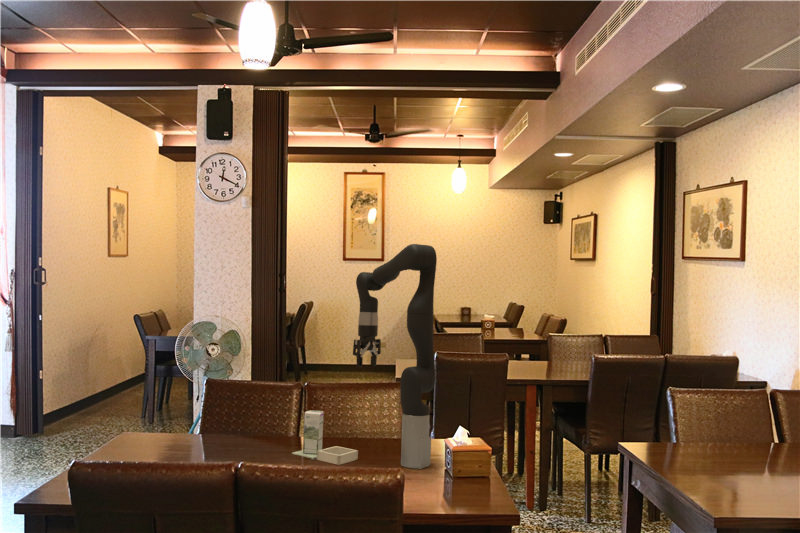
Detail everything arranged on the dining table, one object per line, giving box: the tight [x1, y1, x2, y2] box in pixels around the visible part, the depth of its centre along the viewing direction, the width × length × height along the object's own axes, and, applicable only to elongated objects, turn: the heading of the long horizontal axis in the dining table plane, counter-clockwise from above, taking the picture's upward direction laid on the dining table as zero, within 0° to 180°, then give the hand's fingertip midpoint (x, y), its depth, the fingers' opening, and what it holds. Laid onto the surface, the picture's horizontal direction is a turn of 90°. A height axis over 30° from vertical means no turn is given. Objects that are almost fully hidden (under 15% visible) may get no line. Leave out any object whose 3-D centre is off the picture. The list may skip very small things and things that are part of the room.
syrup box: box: [302, 409, 324, 454], centre depth 219 cm, size 6×6×14 cm
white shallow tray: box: [291, 445, 359, 466], centre depth 215 cm, size 22×13×3 cm, turn 55°
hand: (366, 366), depth 235 cm, fingers open, 8 cm apart
